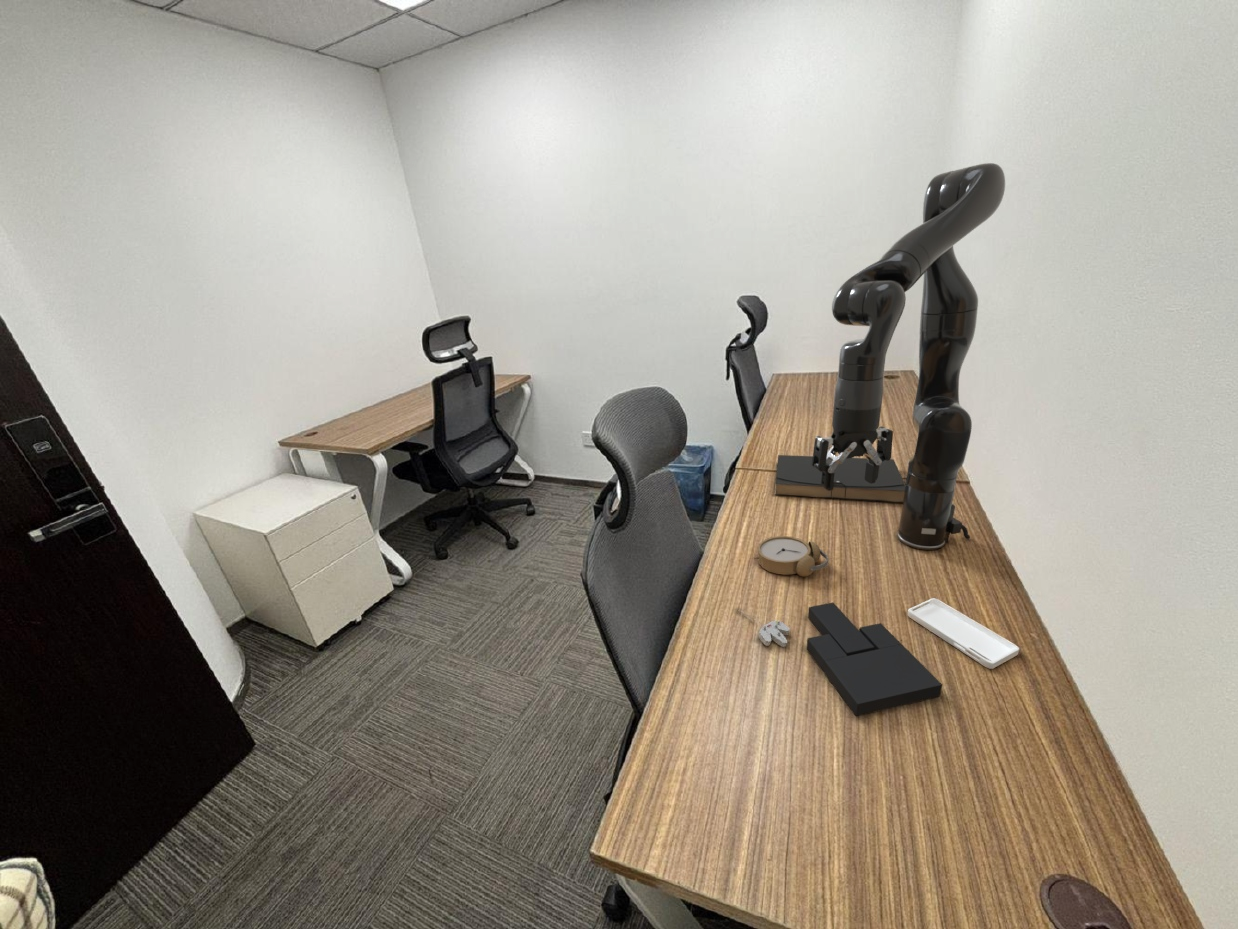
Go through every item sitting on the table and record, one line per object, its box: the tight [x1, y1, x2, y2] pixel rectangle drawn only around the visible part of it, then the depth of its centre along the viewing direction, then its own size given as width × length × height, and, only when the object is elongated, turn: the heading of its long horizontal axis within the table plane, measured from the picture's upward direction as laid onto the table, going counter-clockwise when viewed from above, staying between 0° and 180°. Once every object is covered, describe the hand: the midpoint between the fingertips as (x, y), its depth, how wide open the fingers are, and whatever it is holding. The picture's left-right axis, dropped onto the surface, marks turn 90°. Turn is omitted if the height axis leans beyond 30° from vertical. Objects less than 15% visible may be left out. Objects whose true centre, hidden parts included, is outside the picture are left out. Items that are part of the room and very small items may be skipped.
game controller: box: [739, 609, 790, 648], centre depth 90 cm, size 6×12×3 cm, turn 49°
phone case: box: [907, 597, 1020, 670], centre depth 85 cm, size 7×1×15 cm
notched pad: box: [806, 622, 943, 717], centre depth 79 cm, size 14×14×2 cm
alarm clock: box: [753, 535, 829, 577], centre depth 108 cm, size 11×5×15 cm
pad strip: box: [807, 602, 874, 656], centre depth 87 cm, size 12×5×2 cm, turn 10°
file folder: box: [774, 454, 906, 504], centre depth 143 cm, size 33×4×24 cm
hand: (848, 485), depth 91 cm, fingers open, 8 cm apart
